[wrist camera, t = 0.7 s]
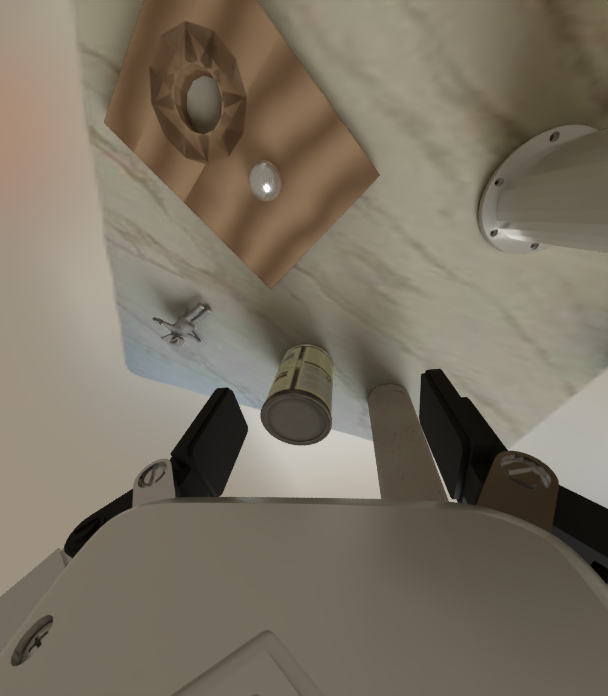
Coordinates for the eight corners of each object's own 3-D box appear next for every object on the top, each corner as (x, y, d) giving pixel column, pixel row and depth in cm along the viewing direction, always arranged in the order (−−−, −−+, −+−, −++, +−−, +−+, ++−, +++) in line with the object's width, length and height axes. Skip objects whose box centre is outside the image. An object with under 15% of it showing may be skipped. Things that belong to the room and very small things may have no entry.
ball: (267, 154, 28) (257, 146, 24) (291, 183, 29) (284, 178, 25) (247, 183, 30) (235, 179, 26) (270, 209, 31) (261, 208, 27)
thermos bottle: (418, 397, 45) (507, 607, 21) (389, 420, 49) (435, 618, 25) (386, 377, 44) (441, 574, 20) (359, 401, 48) (377, 592, 24)
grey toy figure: (230, 329, 44) (195, 359, 44) (219, 309, 47) (187, 338, 47) (187, 302, 35) (145, 340, 36) (177, 280, 38) (138, 316, 39)
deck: (377, 177, 29) (380, 174, 27) (274, 285, 38) (270, 289, 36) (196, -77, 22) (180, -108, 20) (120, 129, 31) (103, 122, 29)
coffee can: (319, 394, 48) (312, 455, 36) (274, 374, 47) (251, 428, 35) (344, 358, 43) (345, 414, 31) (294, 334, 42) (275, 382, 30)
